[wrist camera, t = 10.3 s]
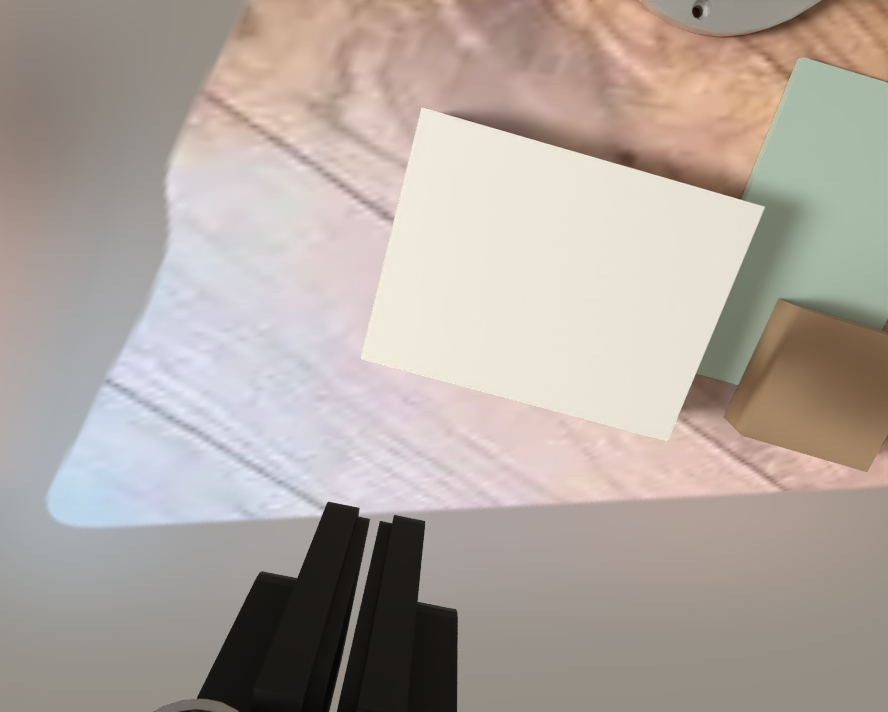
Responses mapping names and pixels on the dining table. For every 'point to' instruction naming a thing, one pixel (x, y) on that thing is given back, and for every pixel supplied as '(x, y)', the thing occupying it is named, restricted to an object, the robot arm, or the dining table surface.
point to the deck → (553, 276)
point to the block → (816, 387)
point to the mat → (813, 213)
